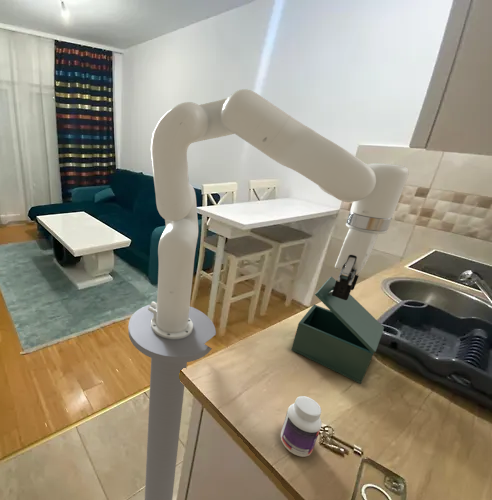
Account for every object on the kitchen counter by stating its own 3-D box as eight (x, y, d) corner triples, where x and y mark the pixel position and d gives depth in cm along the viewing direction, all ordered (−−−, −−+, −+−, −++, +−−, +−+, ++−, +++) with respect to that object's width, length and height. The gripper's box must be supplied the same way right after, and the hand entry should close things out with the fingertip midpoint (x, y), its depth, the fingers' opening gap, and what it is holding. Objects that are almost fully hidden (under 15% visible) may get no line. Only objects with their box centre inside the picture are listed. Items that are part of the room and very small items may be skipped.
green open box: (291, 349, 77) (298, 322, 74) (306, 329, 85) (314, 304, 82) (360, 384, 67) (373, 354, 64) (370, 357, 75) (382, 329, 72)
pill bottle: (316, 461, 51) (331, 422, 47) (283, 453, 52) (295, 415, 48) (307, 432, 56) (320, 395, 52) (277, 426, 57) (288, 389, 53)
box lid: (314, 294, 69) (333, 282, 66) (329, 277, 78) (346, 266, 74) (372, 353, 64) (395, 344, 60) (381, 328, 72) (402, 319, 69)
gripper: (355, 212, 72) (334, 276, 79) (338, 225, 60) (315, 299, 67) (393, 219, 67) (367, 286, 74) (383, 234, 56) (353, 313, 62)
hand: (342, 291), depth 70 cm, fingers closed on box lid, 6 cm apart
